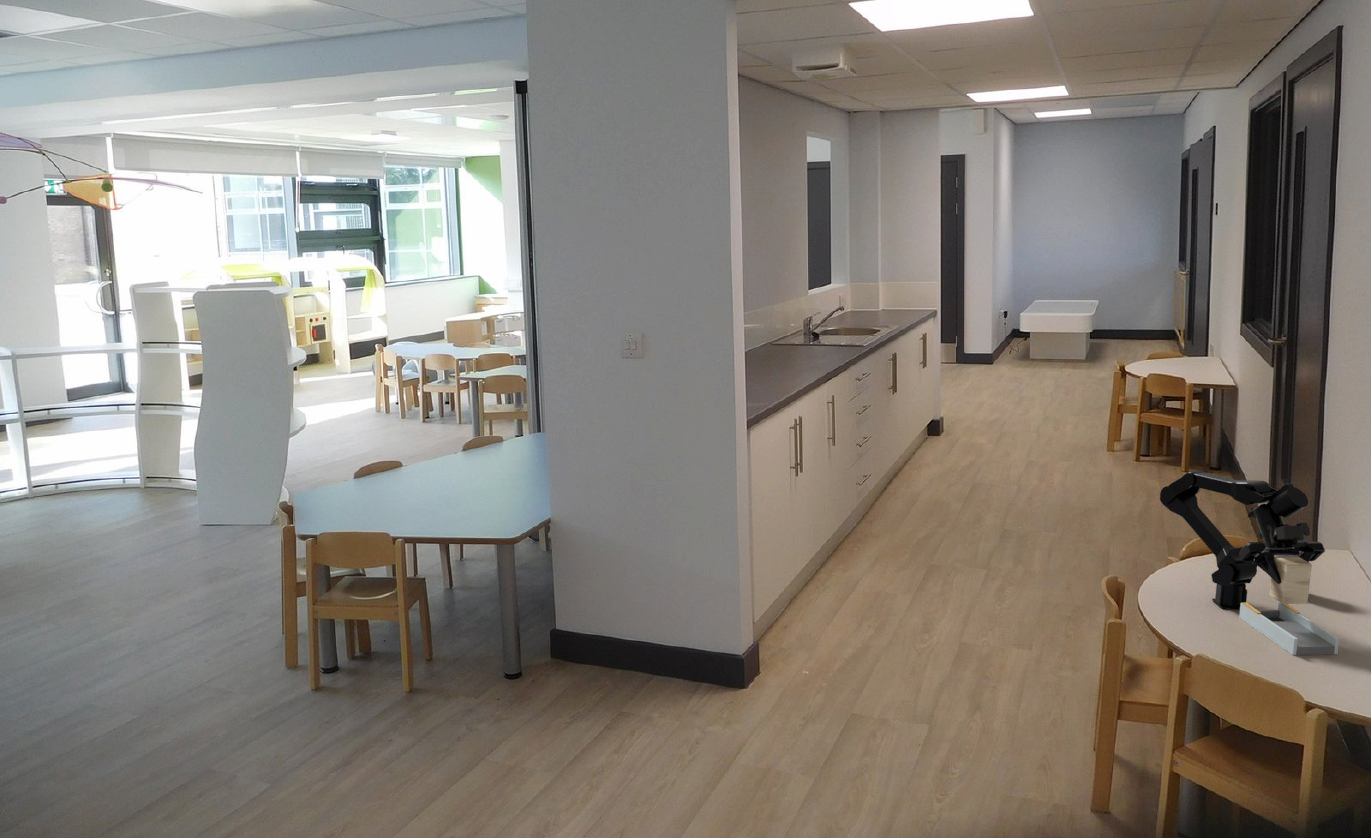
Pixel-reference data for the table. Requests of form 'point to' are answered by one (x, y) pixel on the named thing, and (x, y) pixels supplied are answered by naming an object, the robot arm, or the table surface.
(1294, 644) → the channel
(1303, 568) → the beech block
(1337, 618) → the table surface
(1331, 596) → the table surface
